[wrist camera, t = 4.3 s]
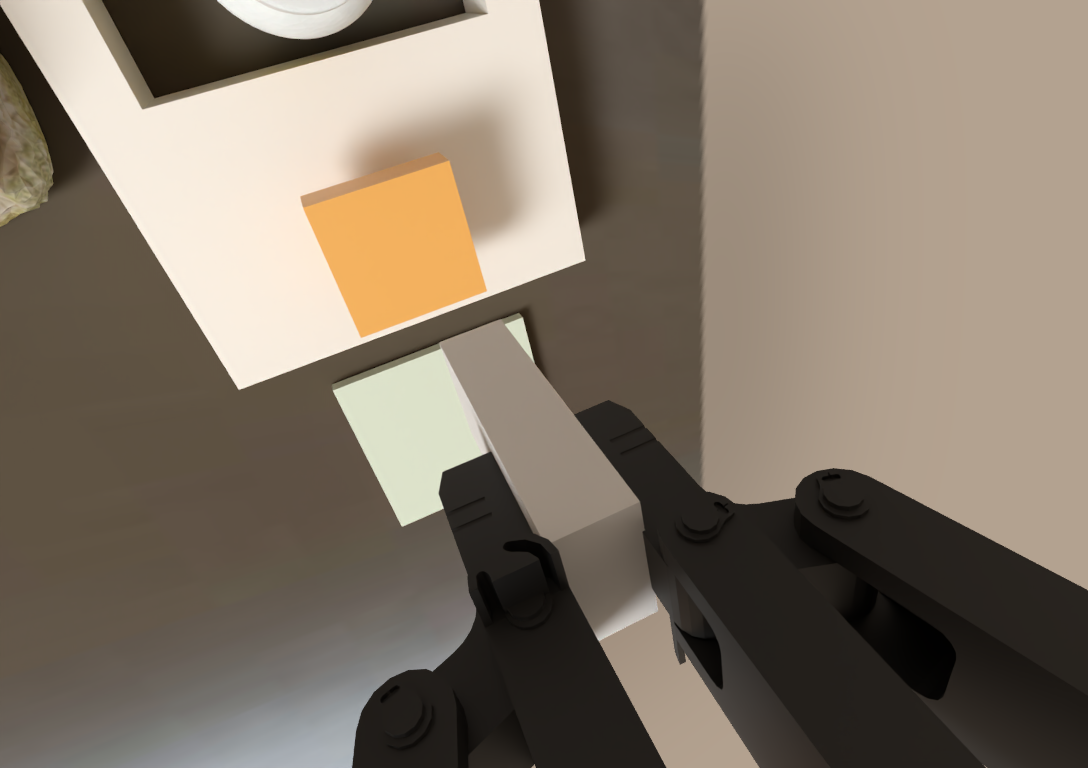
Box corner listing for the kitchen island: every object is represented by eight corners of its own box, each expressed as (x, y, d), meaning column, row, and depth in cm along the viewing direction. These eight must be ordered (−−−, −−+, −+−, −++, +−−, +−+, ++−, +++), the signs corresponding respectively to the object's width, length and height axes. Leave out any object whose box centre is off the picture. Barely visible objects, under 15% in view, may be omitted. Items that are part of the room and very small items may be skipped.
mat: (400, 519, 36) (402, 526, 36) (331, 384, 30) (333, 390, 30) (555, 452, 38) (558, 457, 38) (518, 312, 32) (522, 317, 32)
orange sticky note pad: (346, 292, 26) (361, 338, 23) (295, 176, 23) (302, 207, 20) (456, 253, 27) (487, 291, 24) (420, 137, 24) (449, 160, 21)
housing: (240, 356, 28) (239, 389, 26) (-128, -262, 16) (-194, -307, 14) (560, 240, 31) (585, 260, 29) (442, -348, 19) (468, -397, 17)
